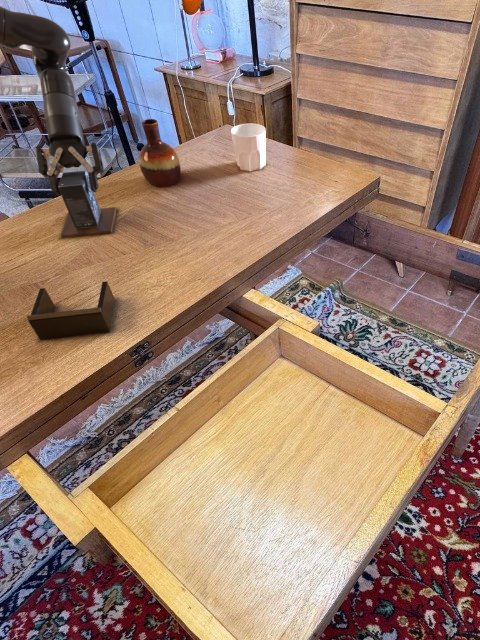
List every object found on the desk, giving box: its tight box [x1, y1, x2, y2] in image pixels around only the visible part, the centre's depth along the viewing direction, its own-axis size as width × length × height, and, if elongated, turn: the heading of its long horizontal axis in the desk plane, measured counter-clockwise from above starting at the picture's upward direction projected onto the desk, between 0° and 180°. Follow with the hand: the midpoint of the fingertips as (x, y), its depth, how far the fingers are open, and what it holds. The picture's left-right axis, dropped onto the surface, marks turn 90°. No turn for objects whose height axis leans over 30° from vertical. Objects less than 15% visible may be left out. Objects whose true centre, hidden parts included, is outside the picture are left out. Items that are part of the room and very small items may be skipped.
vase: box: [138, 118, 182, 188], centre depth 122 cm, size 11×11×15 cm
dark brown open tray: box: [26, 280, 116, 341], centre depth 87 cm, size 13×10×6 cm
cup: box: [230, 123, 267, 173], centre depth 130 cm, size 10×10×10 cm
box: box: [58, 170, 101, 229], centre depth 108 cm, size 8×6×11 cm
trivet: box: [60, 206, 117, 239], centre depth 113 cm, size 12×12×1 cm
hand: (75, 192), depth 105 cm, fingers open, 8 cm apart
